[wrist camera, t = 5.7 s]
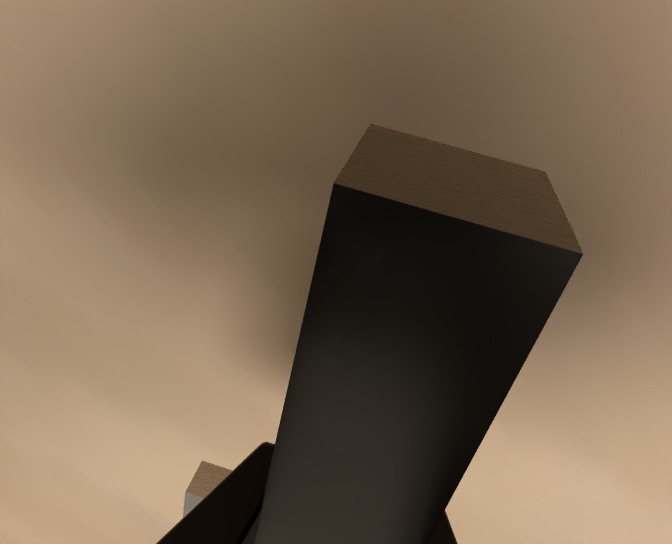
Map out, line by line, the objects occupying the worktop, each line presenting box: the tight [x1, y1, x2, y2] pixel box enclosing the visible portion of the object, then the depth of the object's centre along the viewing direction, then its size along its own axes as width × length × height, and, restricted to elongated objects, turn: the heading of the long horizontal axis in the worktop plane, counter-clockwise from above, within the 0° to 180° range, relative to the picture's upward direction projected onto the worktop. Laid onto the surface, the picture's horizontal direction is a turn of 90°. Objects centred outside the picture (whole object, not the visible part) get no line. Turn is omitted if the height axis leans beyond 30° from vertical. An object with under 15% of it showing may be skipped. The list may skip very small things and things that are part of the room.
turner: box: [183, 124, 583, 544], centre depth 9 cm, size 13×6×2 cm, turn 167°
